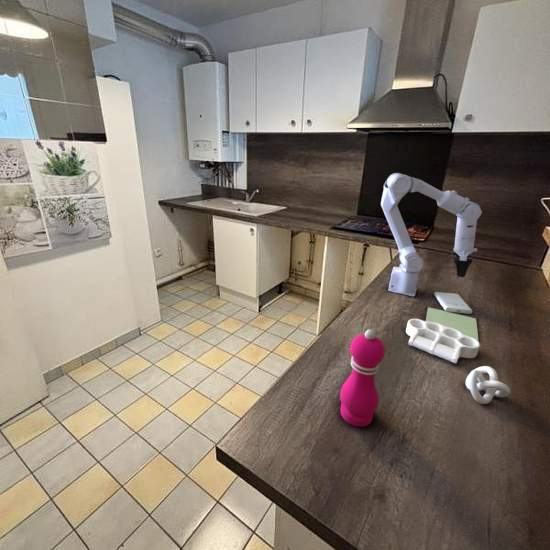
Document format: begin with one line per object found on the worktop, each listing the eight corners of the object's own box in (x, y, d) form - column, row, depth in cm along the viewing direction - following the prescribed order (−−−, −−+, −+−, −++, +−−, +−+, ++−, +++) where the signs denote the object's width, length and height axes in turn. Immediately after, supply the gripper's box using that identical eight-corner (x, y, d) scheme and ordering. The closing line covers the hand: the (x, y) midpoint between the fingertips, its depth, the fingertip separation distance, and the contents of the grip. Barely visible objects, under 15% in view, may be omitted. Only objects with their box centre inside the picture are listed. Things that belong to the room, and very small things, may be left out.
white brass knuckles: (395, 342, 81) (412, 322, 91) (469, 373, 70) (479, 346, 80) (397, 332, 80) (414, 312, 90) (473, 362, 69) (483, 336, 79)
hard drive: (457, 298, 108) (471, 314, 96) (433, 295, 109) (444, 311, 98) (458, 294, 107) (473, 310, 96) (434, 291, 108) (446, 307, 97)
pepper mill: (333, 400, 62) (344, 319, 54) (366, 398, 62) (381, 318, 55) (344, 430, 55) (357, 343, 47) (380, 428, 56) (400, 342, 48)
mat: (424, 326, 89) (424, 326, 89) (428, 307, 100) (428, 307, 100) (478, 341, 83) (478, 340, 83) (475, 319, 94) (476, 318, 94)
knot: (486, 414, 59) (495, 393, 57) (450, 387, 66) (457, 367, 64) (509, 403, 62) (518, 382, 60) (472, 378, 69) (480, 358, 66)
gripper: (479, 243, 94) (474, 281, 99) (478, 231, 105) (473, 266, 110) (454, 242, 97) (450, 279, 102) (455, 231, 109) (451, 265, 114)
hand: (461, 272), depth 106 cm, fingers open, 7 cm apart
